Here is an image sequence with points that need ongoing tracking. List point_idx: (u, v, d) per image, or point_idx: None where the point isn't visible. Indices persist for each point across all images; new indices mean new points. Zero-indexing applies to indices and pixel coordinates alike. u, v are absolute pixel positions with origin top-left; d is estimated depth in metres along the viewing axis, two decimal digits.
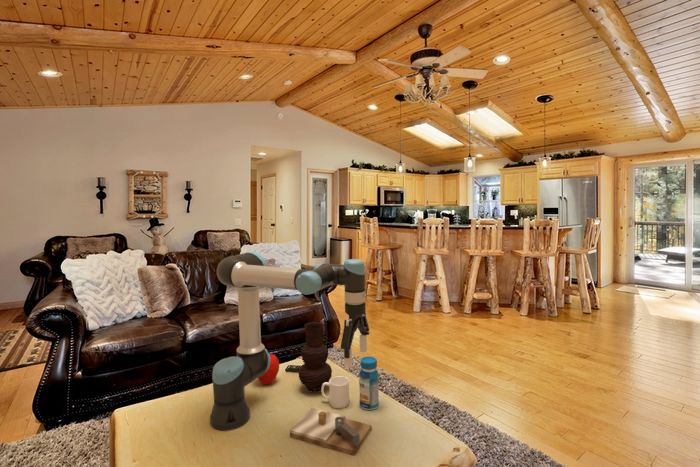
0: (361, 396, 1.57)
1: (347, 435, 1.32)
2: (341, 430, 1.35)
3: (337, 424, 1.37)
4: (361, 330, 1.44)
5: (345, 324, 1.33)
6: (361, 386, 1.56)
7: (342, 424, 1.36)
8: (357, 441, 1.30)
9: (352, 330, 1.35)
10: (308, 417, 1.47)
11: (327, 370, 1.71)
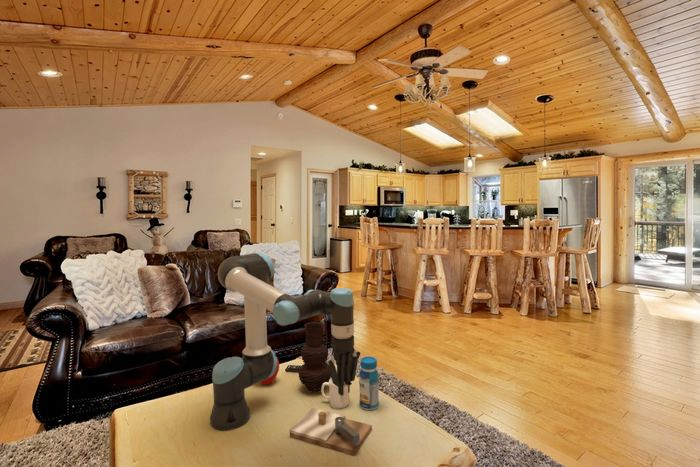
0: (361, 396, 1.57)
1: (347, 435, 1.32)
2: (341, 430, 1.35)
3: (337, 424, 1.37)
4: (345, 374, 1.28)
5: (327, 363, 1.25)
6: (361, 386, 1.56)
7: (342, 424, 1.36)
8: (357, 441, 1.30)
9: (340, 367, 1.26)
10: (308, 417, 1.47)
11: (327, 370, 1.71)
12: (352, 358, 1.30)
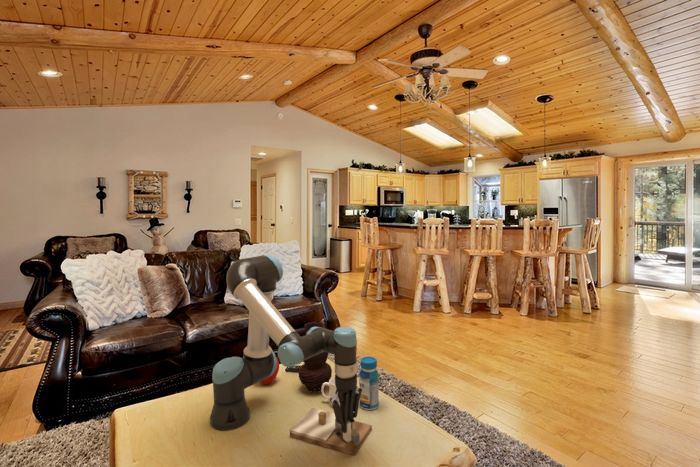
0: (361, 396, 1.57)
1: None
2: (341, 430, 1.35)
3: (337, 424, 1.37)
4: (347, 411, 1.31)
5: (332, 403, 1.26)
6: (361, 386, 1.56)
7: None
8: (357, 441, 1.30)
9: (343, 405, 1.28)
10: (308, 417, 1.47)
11: (327, 370, 1.71)
12: (354, 395, 1.33)
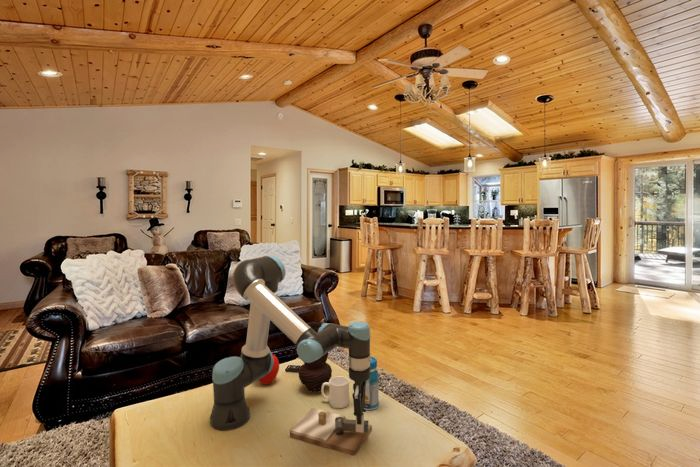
0: None
1: None
2: (347, 427, 1.37)
3: (341, 424, 1.37)
4: None
5: (354, 398, 1.29)
6: None
7: (346, 421, 1.38)
8: (368, 428, 1.38)
9: (360, 398, 1.33)
10: (308, 417, 1.47)
11: (327, 370, 1.71)
12: None
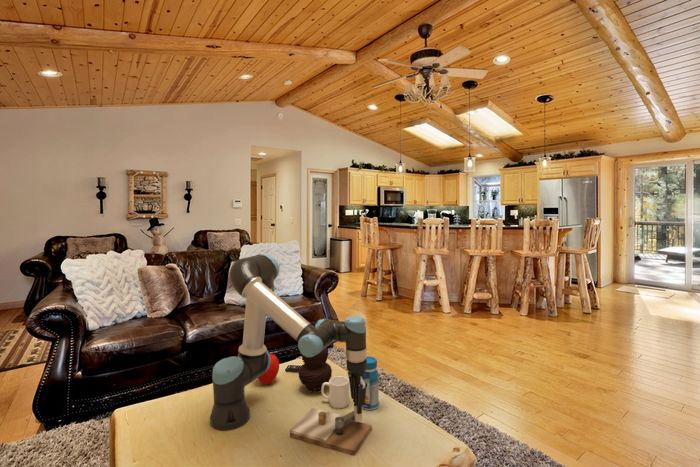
0: None
1: None
2: (347, 423, 1.40)
3: (343, 422, 1.38)
4: None
5: (361, 388, 1.35)
6: None
7: (345, 418, 1.40)
8: None
9: None
10: (308, 417, 1.47)
11: (327, 370, 1.71)
12: None
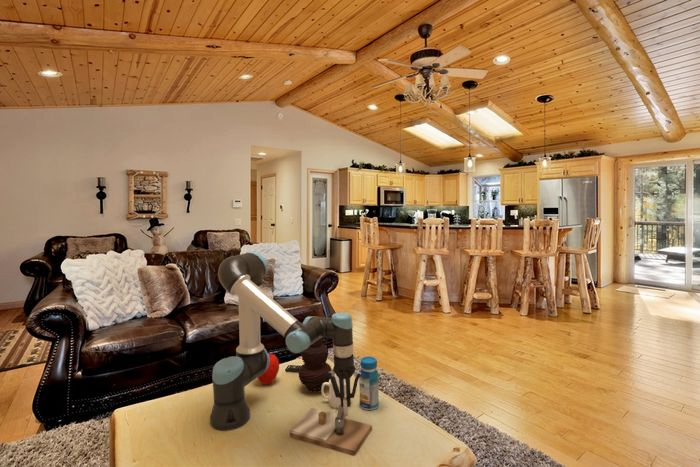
0: (361, 396, 1.57)
1: None
2: None
3: None
4: None
5: None
6: (361, 386, 1.56)
7: (340, 417, 1.41)
8: None
9: None
10: (308, 417, 1.47)
11: (327, 370, 1.71)
12: (355, 378, 1.44)
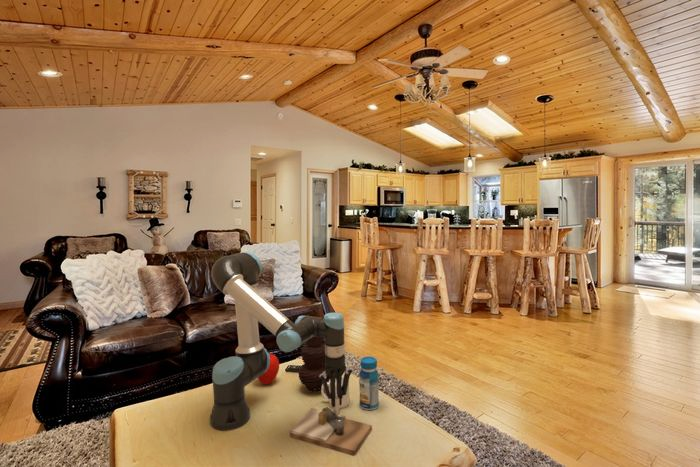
0: (361, 396, 1.57)
1: None
2: None
3: None
4: (337, 388, 1.46)
5: None
6: (361, 386, 1.56)
7: (336, 417, 1.40)
8: None
9: (331, 382, 1.44)
10: (308, 417, 1.47)
11: None
12: (345, 375, 1.47)
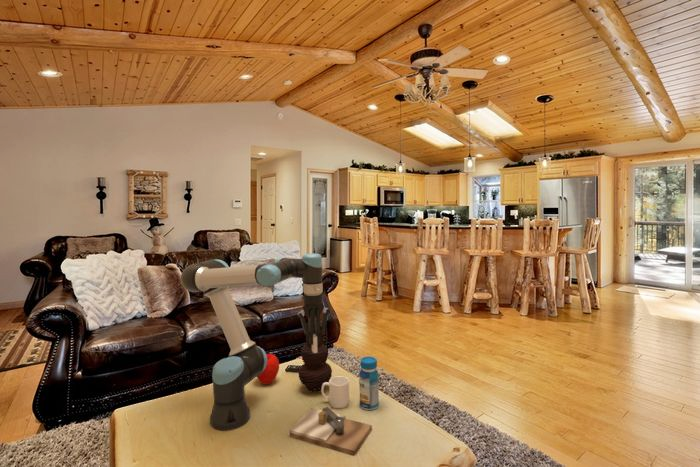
0: (361, 396, 1.57)
1: None
2: None
3: None
4: (315, 327, 1.50)
5: (299, 316, 1.48)
6: (361, 386, 1.56)
7: (336, 417, 1.40)
8: None
9: (309, 320, 1.48)
10: (308, 417, 1.47)
11: (327, 370, 1.71)
12: (323, 314, 1.51)
